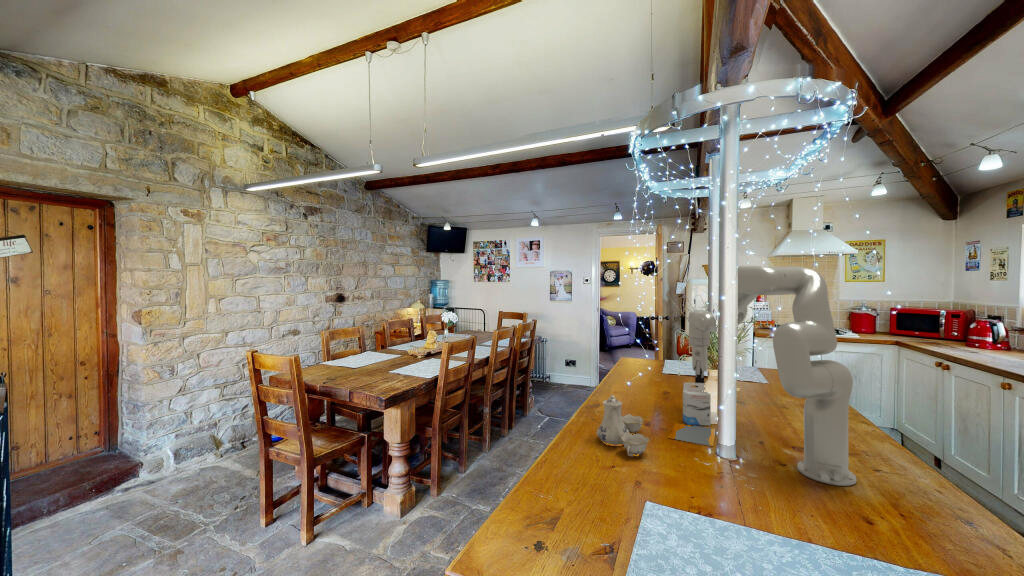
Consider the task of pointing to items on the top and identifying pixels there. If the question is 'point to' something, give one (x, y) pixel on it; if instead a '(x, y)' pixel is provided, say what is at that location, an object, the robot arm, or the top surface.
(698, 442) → the mat
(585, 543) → the top surface
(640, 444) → the chinaware
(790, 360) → the robot arm
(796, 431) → the top surface
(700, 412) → the ink box
